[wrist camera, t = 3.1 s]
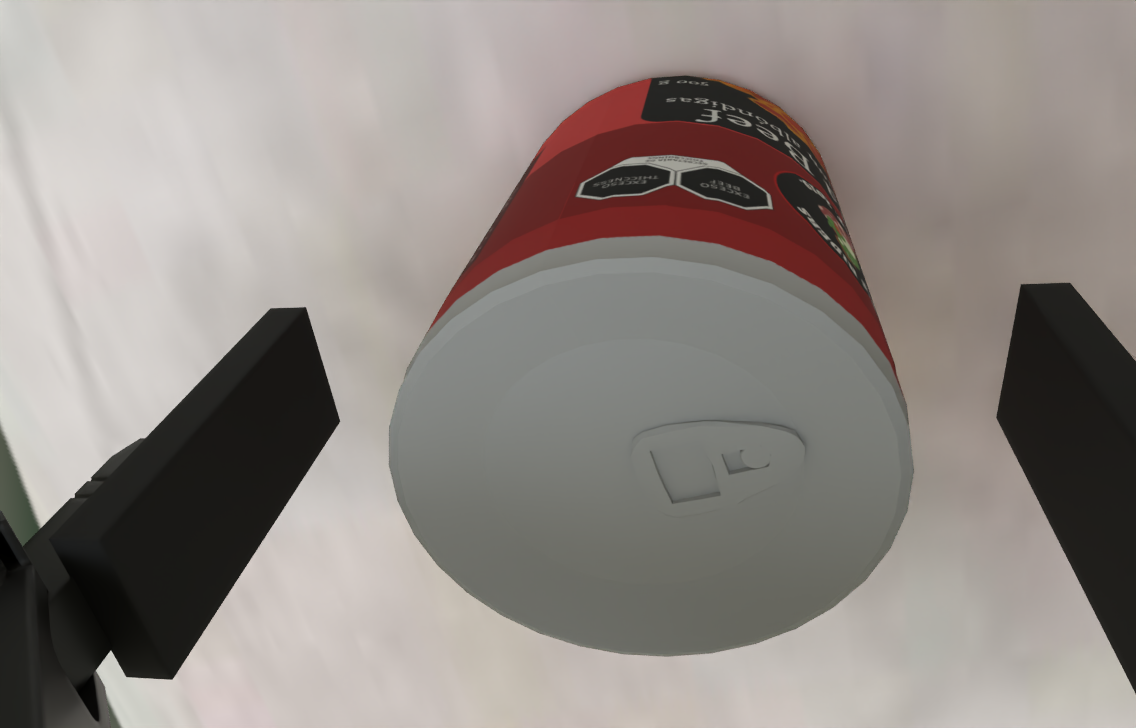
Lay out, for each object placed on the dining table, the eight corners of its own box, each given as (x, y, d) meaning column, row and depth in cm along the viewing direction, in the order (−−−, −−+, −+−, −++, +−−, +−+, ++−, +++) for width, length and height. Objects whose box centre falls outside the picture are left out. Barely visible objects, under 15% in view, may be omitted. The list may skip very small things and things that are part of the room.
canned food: (886, 252, 21) (1014, 559, 12) (633, 391, 25) (580, 714, 15) (723, -9, 19) (727, 126, 10) (466, 186, 22) (283, 425, 13)
